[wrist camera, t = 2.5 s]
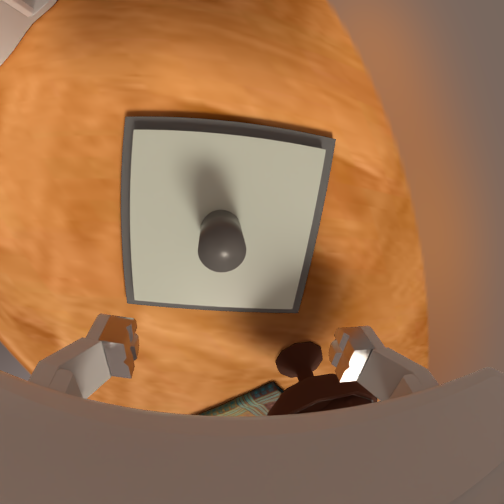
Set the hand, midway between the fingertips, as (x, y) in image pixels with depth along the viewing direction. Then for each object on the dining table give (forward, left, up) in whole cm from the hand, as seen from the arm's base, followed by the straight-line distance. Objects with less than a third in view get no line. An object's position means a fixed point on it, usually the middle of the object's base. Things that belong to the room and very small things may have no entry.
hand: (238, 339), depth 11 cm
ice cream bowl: (+15, +10, -13) cm, 22 cm away
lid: (0, 0, -12) cm, 12 cm away
